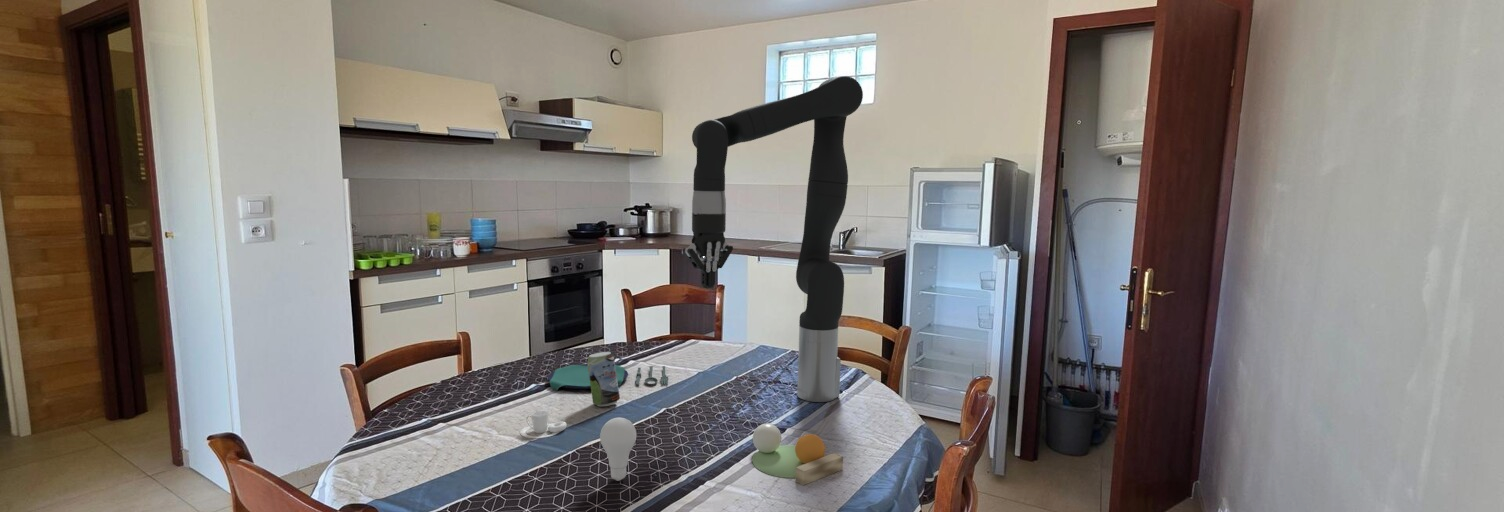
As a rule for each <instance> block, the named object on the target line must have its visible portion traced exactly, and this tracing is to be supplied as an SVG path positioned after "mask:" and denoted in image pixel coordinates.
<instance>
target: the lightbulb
mask: <svg viewBox="0 0 1504 512" xmlns="http://www.w3.org/2000/svg"><path fill="white" fill-rule="evenodd" d="M636 439H637V429H636V427H635V425H634V424H633V422H631V420H629V419H627V418H624V417H619V416H618V417H614V418H611V419H609V420H608V421H606V423H604V425H603V426H602V428H601V430H600V434H599V440H600V444H601V446H602V448H603V449H604V451H605V453H606V455H607V458H608V466H609V467H610V477H611V479H613V480H615V481H617V482H619V481H622V480H623V479H625V478H626V476H627V466H628V464H629V456H630V453H631V451H632V449H633V447H634V445H635V443H636V441H637V440H636Z"/></svg>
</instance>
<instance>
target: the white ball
mask: <svg viewBox="0 0 1504 512" xmlns="http://www.w3.org/2000/svg"><path fill="white" fill-rule="evenodd" d="M752 442H753V445H754V447H755V448H756V450H757V451H761V452H763V453H772V452H774V451H775V450H777V449H778V447H779V446H780V445H781V444H782V433H781V431H780V429H779V428H778V426H776V425H775V424H772V423H767V422H766V423H762V424H760V425H758V426H757V427H756V428H755V430H754V431H753V434H752Z"/></svg>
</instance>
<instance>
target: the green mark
mask: <svg viewBox="0 0 1504 512" xmlns="http://www.w3.org/2000/svg"><path fill="white" fill-rule="evenodd" d="M795 446H796V445H791V444H790V445H788V444H787V445H785V444H784V445H781V444H780V446H779V447H778V449H777V450H775V451H774V452H772V453H763V452H761V451H759V450H757V451H756V452H755V453H754V454H753V456H752V464H753V467H755V468H756V469H757V470H758V471H760V472H762V473H764V474H767V475H770V476H773V477H778V478H787V479H796V467H798V466H801V465H804V463H802V462H801V461H800V460H799V459H798V457H797V455H796V452H795ZM825 456H826V455H824V457H825Z"/></svg>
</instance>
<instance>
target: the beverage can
mask: <svg viewBox="0 0 1504 512" xmlns="http://www.w3.org/2000/svg"><path fill="white" fill-rule="evenodd" d="M615 361H616V359H615V357H614V355H613V354H612V353H611V351H600V352H595V353H592V354H590V355H589V356H588V359H587V363H586V365H588V371H589V379H590V386H591V388H590V391H591V399H592V404H594V405H596V406H597V407H599V408H600V407H601V408H602V407H608V406H612V405H615V404H616V403H617V402H618V401H619V400H620V391H619V385H618V382H617V374H616V367H615V365H616V362H615Z"/></svg>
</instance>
